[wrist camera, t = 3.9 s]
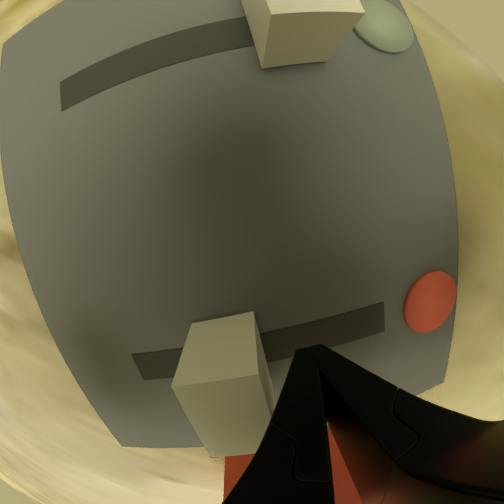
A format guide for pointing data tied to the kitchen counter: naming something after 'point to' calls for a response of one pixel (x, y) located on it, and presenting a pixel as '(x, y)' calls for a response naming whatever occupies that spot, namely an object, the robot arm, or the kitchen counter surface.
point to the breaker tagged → (225, 384)
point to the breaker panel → (225, 197)
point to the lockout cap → (343, 484)
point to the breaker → (299, 28)
